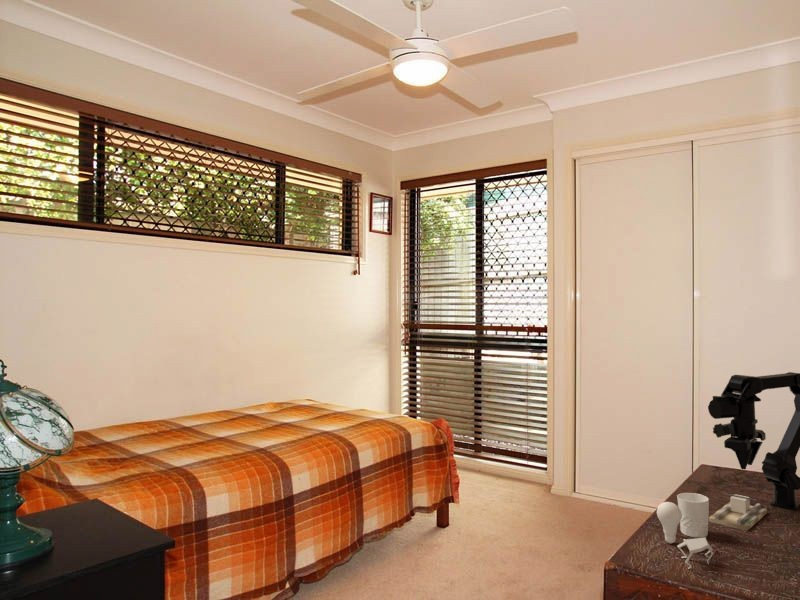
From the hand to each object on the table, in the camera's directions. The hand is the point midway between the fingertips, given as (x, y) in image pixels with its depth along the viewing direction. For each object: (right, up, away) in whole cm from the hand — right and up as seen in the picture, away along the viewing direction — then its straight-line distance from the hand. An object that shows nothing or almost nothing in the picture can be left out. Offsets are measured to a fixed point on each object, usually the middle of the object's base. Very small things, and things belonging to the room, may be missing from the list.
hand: (746, 466), depth 175 cm
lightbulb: (-34, -14, -22) cm, 43 cm away
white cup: (-24, -14, -16) cm, 32 cm away
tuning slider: (-5, -12, -5) cm, 14 cm away
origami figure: (-33, -15, -33) cm, 49 cm away
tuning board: (-6, -13, -6) cm, 16 cm away
